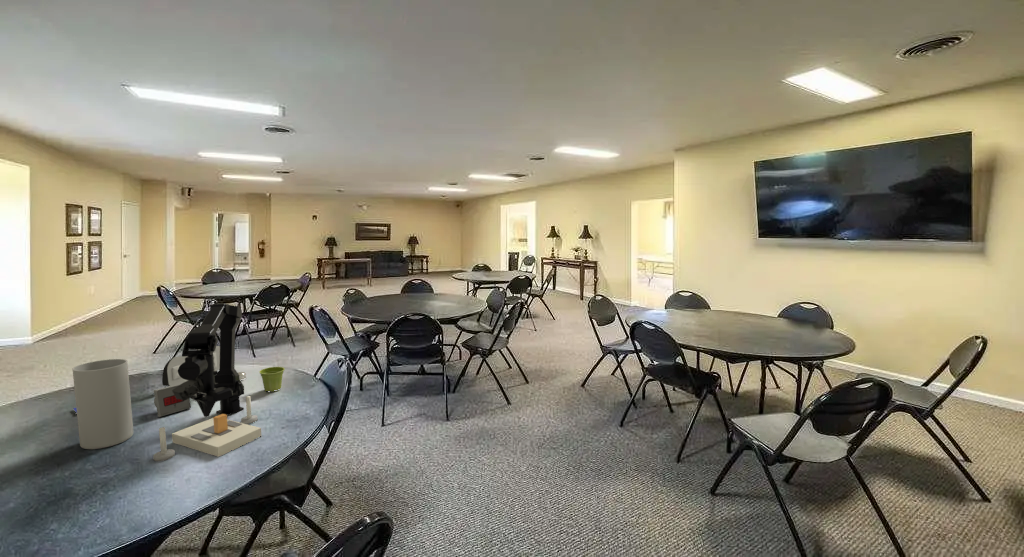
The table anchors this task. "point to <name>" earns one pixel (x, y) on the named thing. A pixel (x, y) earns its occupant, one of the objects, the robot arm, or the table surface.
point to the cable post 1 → (163, 448)
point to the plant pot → (272, 378)
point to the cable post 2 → (249, 413)
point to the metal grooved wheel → (242, 375)
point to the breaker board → (216, 437)
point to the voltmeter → (169, 401)
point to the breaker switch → (220, 423)
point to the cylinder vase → (103, 403)
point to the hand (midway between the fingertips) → (206, 416)
